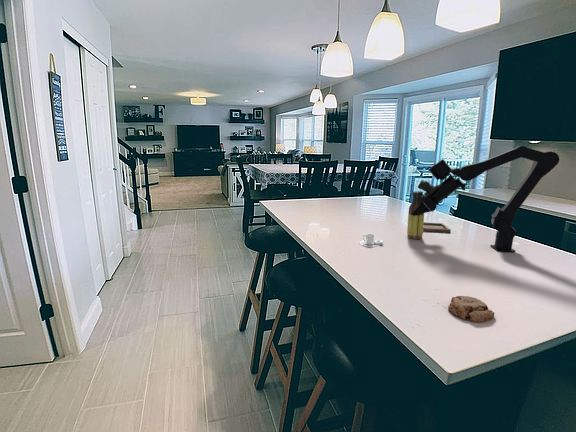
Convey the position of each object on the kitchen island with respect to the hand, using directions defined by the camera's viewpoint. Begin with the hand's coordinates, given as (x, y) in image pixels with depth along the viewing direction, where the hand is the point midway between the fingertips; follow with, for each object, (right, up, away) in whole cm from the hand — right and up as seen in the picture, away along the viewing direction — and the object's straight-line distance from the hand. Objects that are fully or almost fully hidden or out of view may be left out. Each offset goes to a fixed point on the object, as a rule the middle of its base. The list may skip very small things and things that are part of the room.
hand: (413, 213), depth 142 cm
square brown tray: (+16, -7, +17) cm, 25 cm away
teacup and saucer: (-19, -14, -10) cm, 25 cm away
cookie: (-9, -25, -60) cm, 65 cm away
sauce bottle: (+1, -11, +2) cm, 11 cm away
